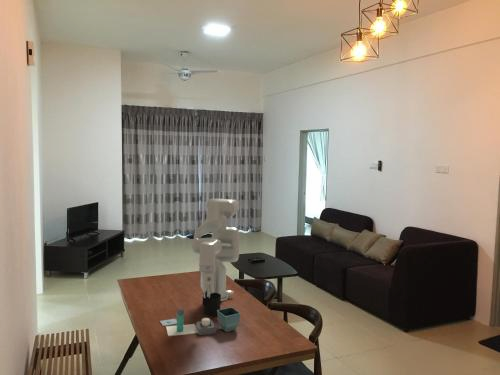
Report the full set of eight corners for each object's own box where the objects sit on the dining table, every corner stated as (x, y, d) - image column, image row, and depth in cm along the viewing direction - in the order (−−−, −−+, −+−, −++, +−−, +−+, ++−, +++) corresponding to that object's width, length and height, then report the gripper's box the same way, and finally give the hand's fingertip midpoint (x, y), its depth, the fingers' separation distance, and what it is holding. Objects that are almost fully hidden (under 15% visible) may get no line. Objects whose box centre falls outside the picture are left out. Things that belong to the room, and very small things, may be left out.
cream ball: (208, 324, 199) (209, 317, 199) (210, 327, 196) (210, 320, 195) (200, 325, 198) (201, 318, 198) (202, 328, 194) (202, 321, 194)
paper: (194, 324, 203) (194, 323, 203) (198, 333, 194) (198, 332, 194) (166, 327, 199) (166, 326, 199) (168, 336, 190) (168, 335, 190)
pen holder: (217, 317, 213) (218, 299, 212) (200, 315, 214) (200, 297, 214) (222, 311, 222) (222, 293, 221) (205, 309, 224) (206, 291, 223)
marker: (183, 328, 198) (183, 308, 196) (183, 331, 194) (184, 311, 193) (176, 329, 197) (176, 308, 196) (176, 332, 193) (177, 311, 192)
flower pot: (224, 334, 193) (225, 316, 192) (216, 327, 201) (216, 310, 200) (240, 331, 198) (241, 313, 197) (231, 324, 205) (232, 306, 205)
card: (175, 319, 209) (175, 318, 209) (178, 323, 204) (178, 322, 204) (159, 321, 206) (159, 320, 206) (162, 326, 200) (162, 325, 200)
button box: (212, 326, 202) (212, 320, 202) (215, 333, 194) (215, 327, 194) (195, 327, 200) (196, 321, 199) (198, 335, 192) (198, 328, 192)
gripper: (218, 271, 188) (217, 310, 190) (211, 263, 203) (210, 299, 204) (202, 272, 186) (201, 312, 187) (196, 264, 200) (195, 300, 202)
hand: (206, 305), depth 196 cm, fingers closed
